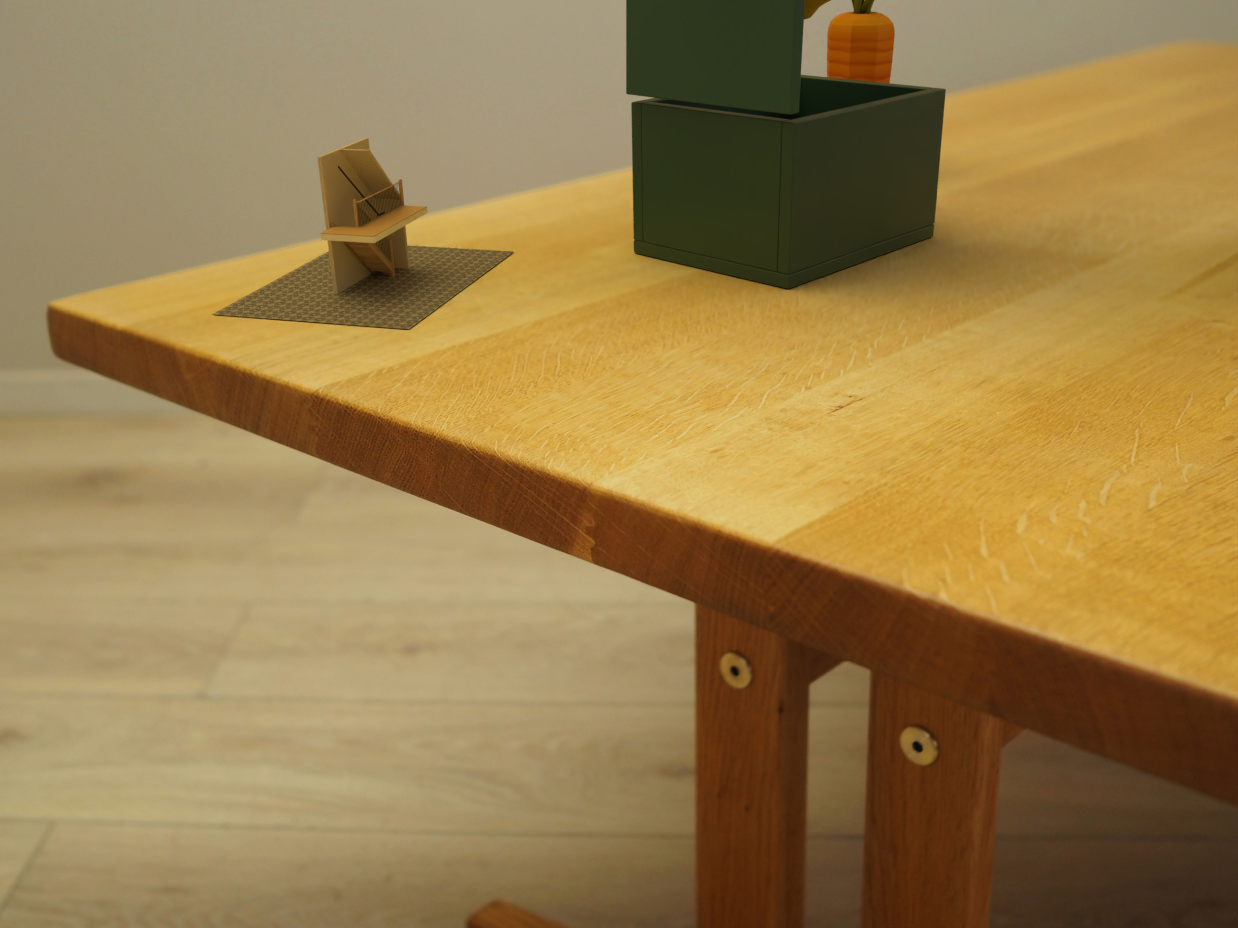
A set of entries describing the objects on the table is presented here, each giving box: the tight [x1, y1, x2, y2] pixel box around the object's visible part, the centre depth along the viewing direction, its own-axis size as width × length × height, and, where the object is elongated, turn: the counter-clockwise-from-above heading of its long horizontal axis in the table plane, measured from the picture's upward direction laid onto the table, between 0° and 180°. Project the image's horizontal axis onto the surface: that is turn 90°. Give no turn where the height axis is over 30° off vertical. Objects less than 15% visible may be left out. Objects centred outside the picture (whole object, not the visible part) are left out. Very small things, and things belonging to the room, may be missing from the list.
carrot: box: [826, 0, 896, 83], centre depth 92 cm, size 5×5×15 cm
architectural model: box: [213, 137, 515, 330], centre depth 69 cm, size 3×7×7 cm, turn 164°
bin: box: [630, 74, 947, 290], centre depth 74 cm, size 15×12×9 cm
